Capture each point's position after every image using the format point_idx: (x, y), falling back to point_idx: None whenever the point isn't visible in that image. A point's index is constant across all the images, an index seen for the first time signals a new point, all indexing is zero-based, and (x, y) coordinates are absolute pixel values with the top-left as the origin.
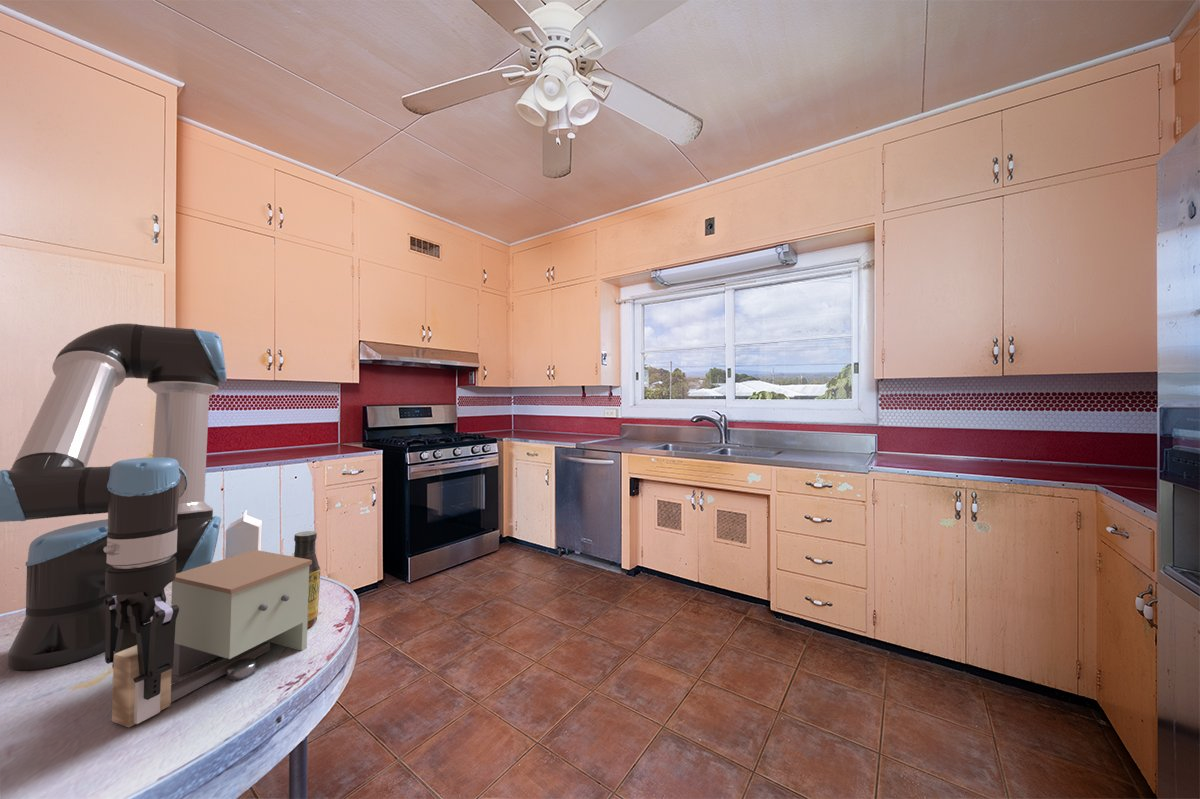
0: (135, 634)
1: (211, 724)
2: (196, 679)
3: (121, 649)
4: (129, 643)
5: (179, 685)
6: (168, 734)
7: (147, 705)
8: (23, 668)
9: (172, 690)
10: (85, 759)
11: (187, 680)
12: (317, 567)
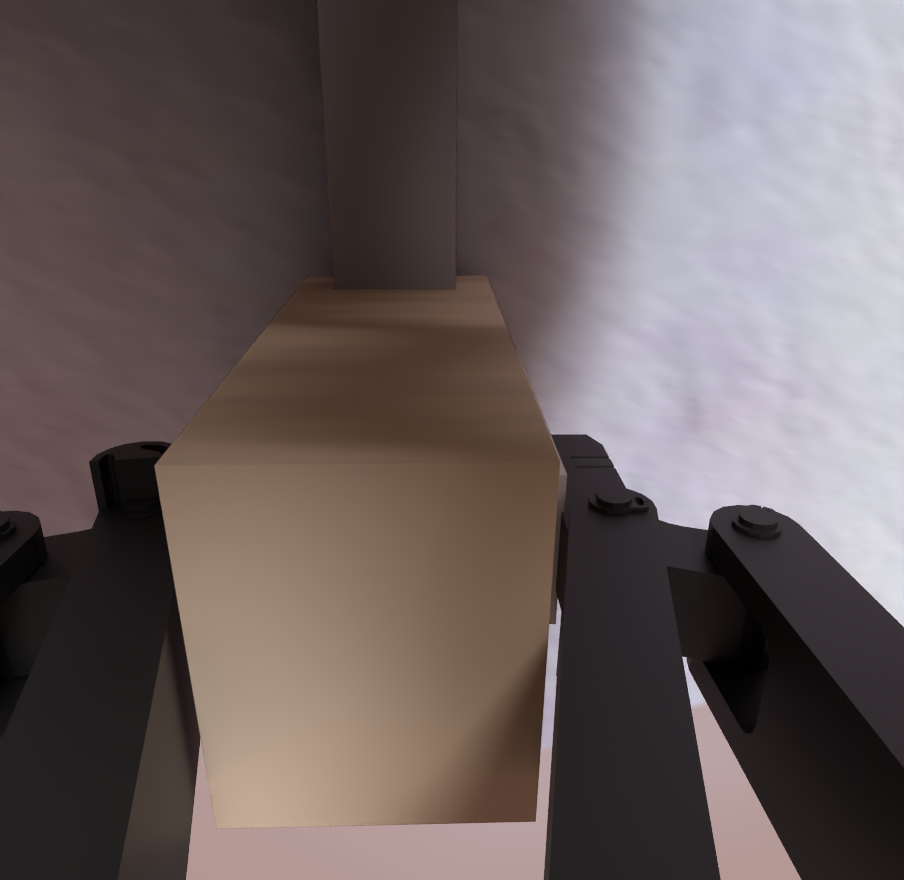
0: (153, 817)
1: (896, 279)
2: (450, 74)
3: (194, 788)
4: (179, 765)
5: (410, 184)
6: (727, 414)
7: None
8: None
9: (430, 244)
10: None
11: (393, 112)
12: None
